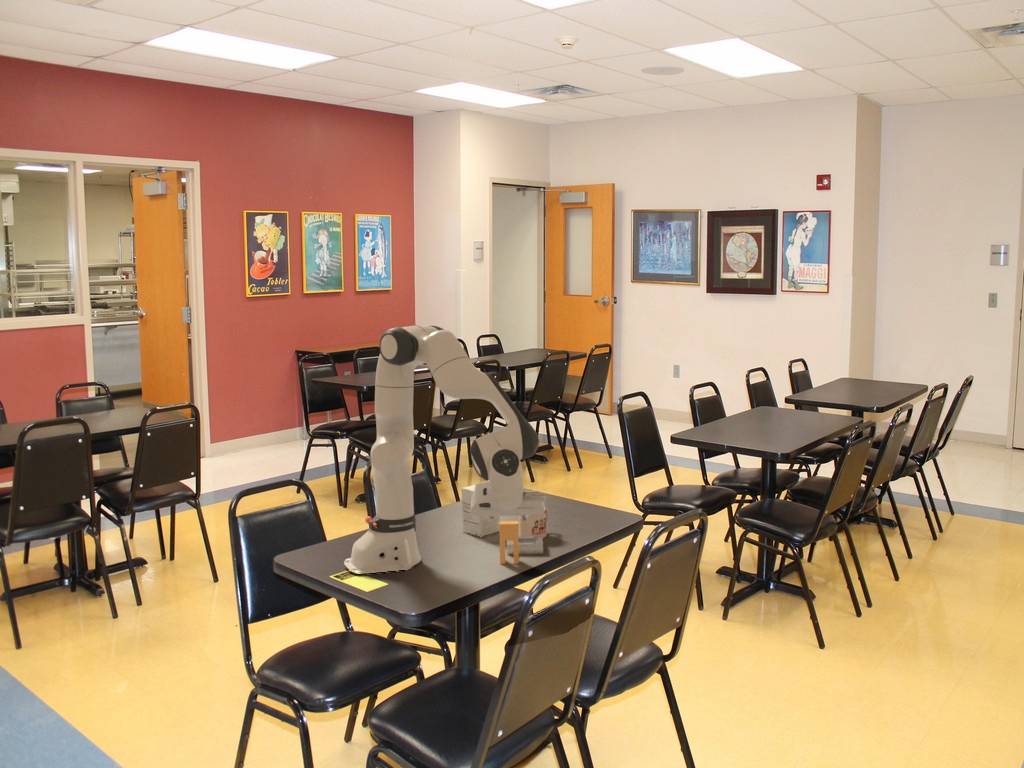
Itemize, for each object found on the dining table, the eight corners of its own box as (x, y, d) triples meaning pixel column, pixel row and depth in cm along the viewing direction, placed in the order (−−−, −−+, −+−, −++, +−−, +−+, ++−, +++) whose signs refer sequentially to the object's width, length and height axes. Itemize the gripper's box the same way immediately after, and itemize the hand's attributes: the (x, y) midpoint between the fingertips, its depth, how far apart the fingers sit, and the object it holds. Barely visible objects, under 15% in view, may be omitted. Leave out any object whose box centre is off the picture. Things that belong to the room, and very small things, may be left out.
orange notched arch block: (519, 560, 261) (518, 520, 259) (519, 563, 258) (518, 523, 256) (500, 560, 261) (499, 521, 259) (500, 564, 258) (499, 524, 256)
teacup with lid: (534, 542, 278) (534, 506, 276) (513, 536, 284) (512, 501, 282) (558, 533, 287) (558, 498, 285) (537, 528, 293) (536, 493, 291)
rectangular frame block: (543, 553, 266) (543, 544, 266) (506, 554, 266) (506, 544, 266) (542, 545, 274) (542, 536, 274) (507, 546, 274) (506, 536, 274)
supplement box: (482, 526, 296) (481, 482, 294) (500, 531, 290) (499, 486, 288) (461, 532, 290) (460, 487, 288) (480, 537, 284) (479, 492, 282)
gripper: (545, 482, 236) (545, 508, 247) (469, 483, 236) (472, 509, 247) (546, 502, 232) (546, 528, 243) (468, 504, 232) (471, 529, 243)
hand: (508, 518), depth 245 cm, fingers open, 8 cm apart
